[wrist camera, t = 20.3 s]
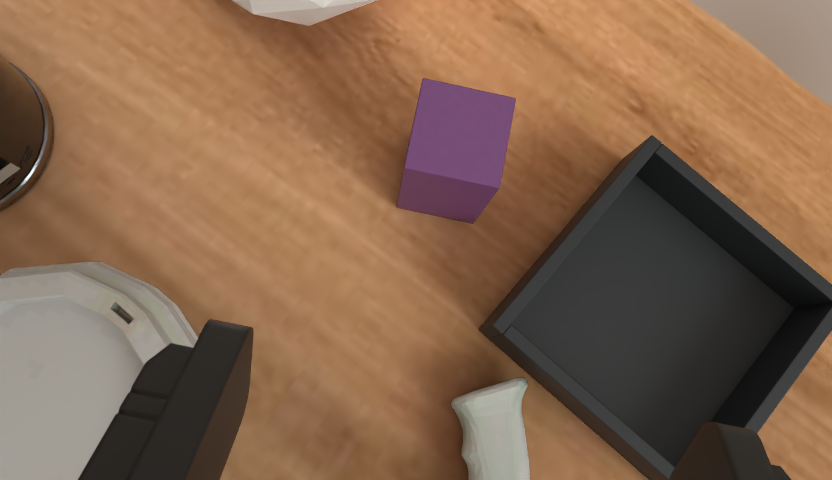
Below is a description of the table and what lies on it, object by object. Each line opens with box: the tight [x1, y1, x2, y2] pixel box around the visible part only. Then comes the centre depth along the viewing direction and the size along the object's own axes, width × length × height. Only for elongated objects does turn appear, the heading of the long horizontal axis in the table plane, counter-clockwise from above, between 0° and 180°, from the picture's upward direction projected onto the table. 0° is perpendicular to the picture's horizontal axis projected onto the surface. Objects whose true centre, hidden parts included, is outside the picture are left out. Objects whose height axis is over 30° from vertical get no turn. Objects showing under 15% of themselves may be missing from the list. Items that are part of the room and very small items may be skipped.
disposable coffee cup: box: [0, 262, 198, 480], centre depth 29 cm, size 11×11×15 cm
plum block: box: [397, 78, 516, 224], centre depth 36 cm, size 4×4×8 cm
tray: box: [479, 136, 832, 480], centre depth 37 cm, size 13×13×4 cm
